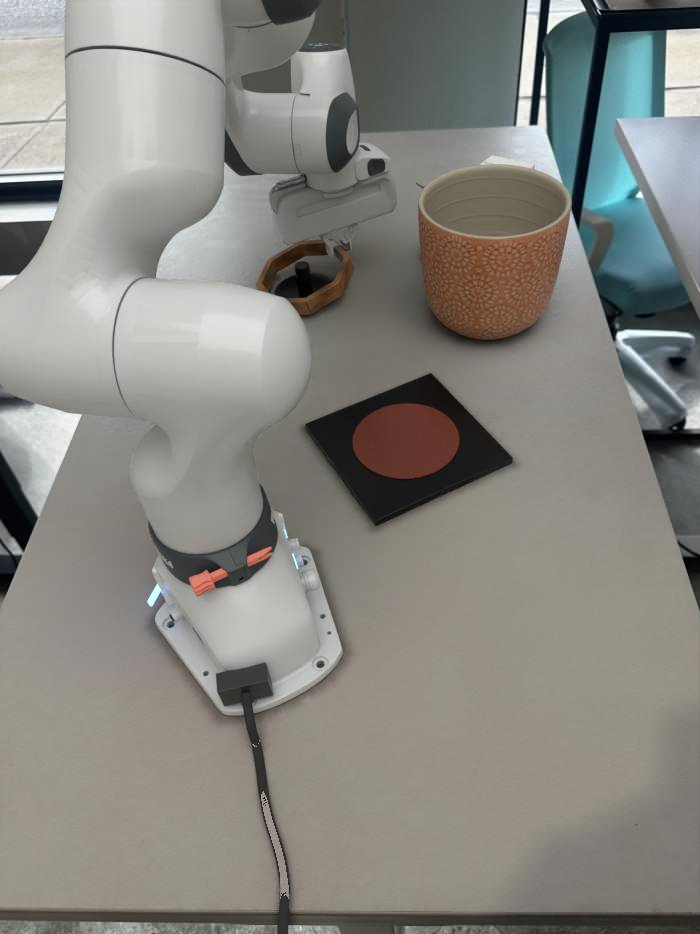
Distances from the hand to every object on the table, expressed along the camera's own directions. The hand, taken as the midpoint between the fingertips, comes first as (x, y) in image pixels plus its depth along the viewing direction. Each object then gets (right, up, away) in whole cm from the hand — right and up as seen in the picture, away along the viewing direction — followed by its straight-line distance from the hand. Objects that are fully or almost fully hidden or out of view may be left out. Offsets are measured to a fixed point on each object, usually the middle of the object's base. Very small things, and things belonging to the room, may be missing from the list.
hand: (339, 251), depth 119 cm
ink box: (+28, +8, +12) cm, 32 cm away
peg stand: (-6, -6, +2) cm, 9 cm away
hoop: (-5, -5, +1) cm, 7 cm away
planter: (+23, -12, -5) cm, 27 cm away
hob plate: (+10, -34, -22) cm, 42 cm away
